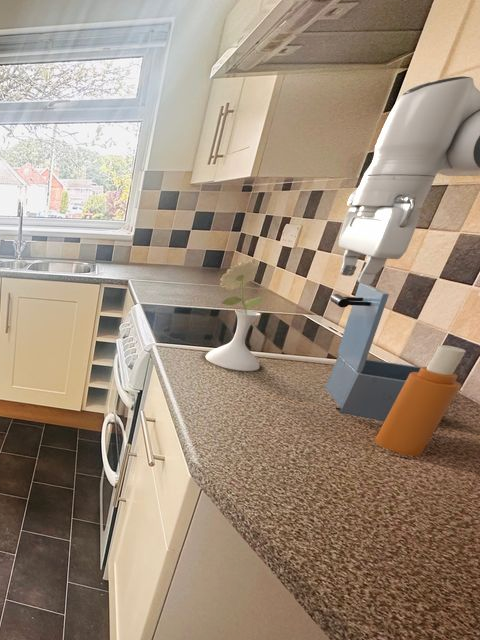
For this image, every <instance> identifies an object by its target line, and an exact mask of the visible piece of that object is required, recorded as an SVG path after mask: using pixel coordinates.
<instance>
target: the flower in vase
mask: <svg viewBox="0 0 480 640" xmlns="http://www.w3.org/2000/svg"><path fill="white" fill-rule="evenodd" d="M254 263H255V262H254V261H251V260H248V261H246V262H245V261H240V262H239V263H237V264H235V265H234V266H232V267H231V268H228V269H227V270H226V272H225V273H223V275H222V276H221V278H220V279H219V281H221V282H220V283H219V286H220V287H221V288H222V289H223V288H225V289H226V290H234V289H239V288H241V289H240V297H238V296H230V297H227V298H226V299H224V300H223V301H221V304H222V305H225V306H232V307H233V306H235V305H237V304H239V303H240V302H241V303H242V307H243V309H235V311H234V312H235V315H236V319H237V321H236V322H237V323H236V329H235V333H234V336H233V338H232V339H231V340H230V341H229V342H228V343H226V344H223V345H221V346H218V347H216V348H214V349H212V350H210V351H208V352H207V353H206V354H205V359H206V360H207V362H209V363H211V364H212V365H215V366H217V367H220V368H223V369H228V370H232V371H239V372H255V371H258V370H259V369H260V362H259V360H258V359H257V358H256V356H255V355H254V354H253V353H252V352H251V350H249V348H248V347H247V345H246V342H245V341H246V337H247V334H248V332H249V329H250V327H251V325H252V324H253V322H254V321H255V320H256V319H257V318H258V317H259V316H261V313H260V312H258V311H255V310H249V309H247V308H252V307H257V306H259V305H260V304H261V302H262V301H263V297H264V296H258V297H255V298H250V299H248V300H246V301H244V287H245V286H246V285H247V284H249V283H251V281H252V280H254V279H255V278H256V277H255V276H256V275H257V273H258V272H257V271H258V270H259V265H257V264H254Z"/></svg>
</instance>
